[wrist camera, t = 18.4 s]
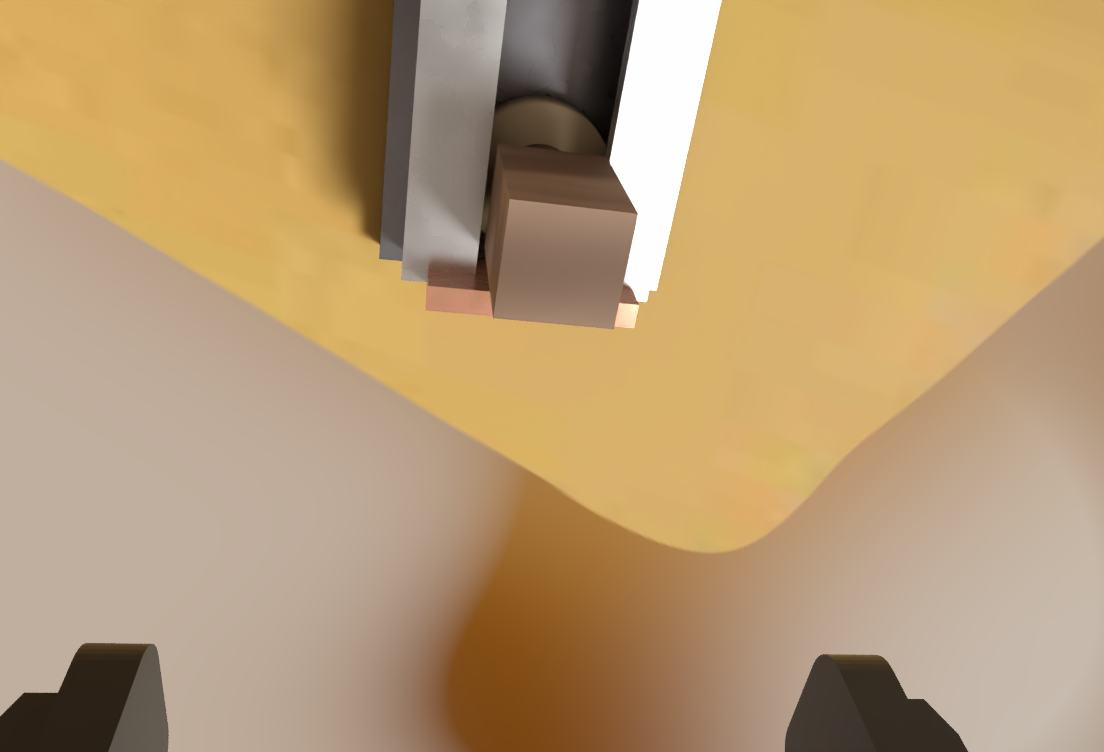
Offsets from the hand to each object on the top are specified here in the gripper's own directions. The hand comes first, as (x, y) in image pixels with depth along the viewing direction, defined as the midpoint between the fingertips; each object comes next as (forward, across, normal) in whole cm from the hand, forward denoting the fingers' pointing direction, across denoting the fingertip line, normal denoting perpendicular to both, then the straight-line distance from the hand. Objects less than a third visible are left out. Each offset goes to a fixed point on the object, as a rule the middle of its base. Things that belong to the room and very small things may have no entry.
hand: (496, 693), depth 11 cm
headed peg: (+28, -3, +3) cm, 29 cm away
